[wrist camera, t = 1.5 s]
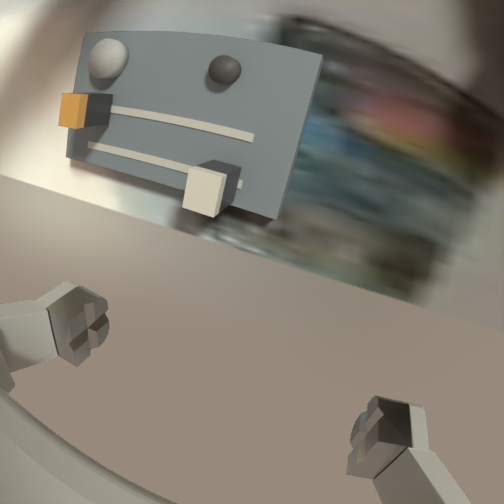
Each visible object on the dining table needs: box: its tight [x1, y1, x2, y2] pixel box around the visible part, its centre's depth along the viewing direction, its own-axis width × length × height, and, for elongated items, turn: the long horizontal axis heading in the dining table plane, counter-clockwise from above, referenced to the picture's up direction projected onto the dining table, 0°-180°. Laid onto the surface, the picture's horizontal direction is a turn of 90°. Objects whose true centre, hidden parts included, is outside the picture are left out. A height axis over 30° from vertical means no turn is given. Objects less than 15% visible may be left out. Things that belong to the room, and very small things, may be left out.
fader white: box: [182, 159, 242, 218], centre depth 24 cm, size 2×3×4 cm
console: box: [66, 31, 324, 220], centre depth 25 cm, size 24×14×4 cm, turn 76°
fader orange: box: [58, 92, 113, 129], centre depth 24 cm, size 2×3×4 cm
